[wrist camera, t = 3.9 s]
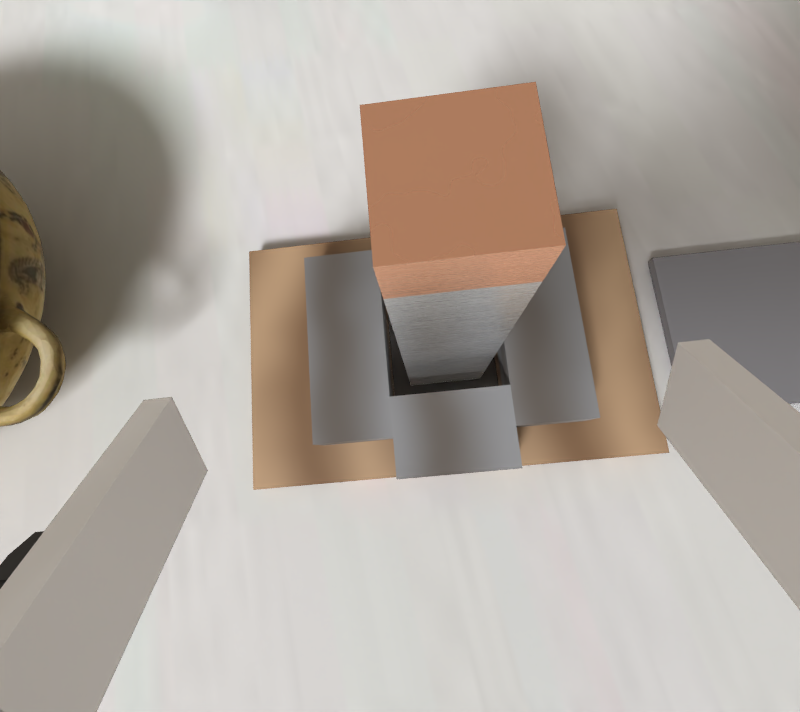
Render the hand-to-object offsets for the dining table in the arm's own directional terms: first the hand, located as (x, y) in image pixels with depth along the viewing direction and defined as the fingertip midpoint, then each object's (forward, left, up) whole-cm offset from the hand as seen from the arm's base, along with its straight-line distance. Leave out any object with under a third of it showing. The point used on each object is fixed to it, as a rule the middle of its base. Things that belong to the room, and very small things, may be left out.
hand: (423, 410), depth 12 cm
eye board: (-2, -4, -14) cm, 14 cm away
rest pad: (-19, +1, -14) cm, 23 cm away
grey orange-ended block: (-2, -4, -14) cm, 14 cm away
